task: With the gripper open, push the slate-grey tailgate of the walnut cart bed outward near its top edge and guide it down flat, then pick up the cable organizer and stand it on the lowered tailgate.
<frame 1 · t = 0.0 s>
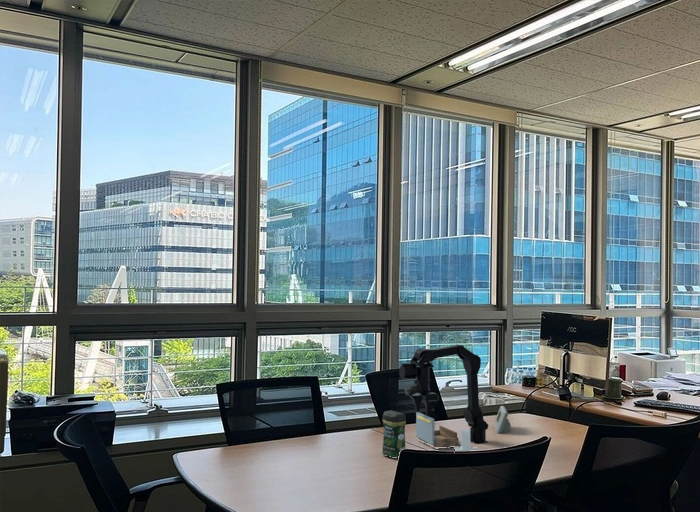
hand: (422, 413, 270), 15 cm above the table, tool pointing down, fingers open, 9 cm apart
cart bed: (438, 443, 275), on the table
coffee jar: (394, 456, 255), on the table
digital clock: (500, 430, 302), on the table
cable organizer: (466, 453, 261), on the table
tailgate: (424, 428, 273), point 8 cm above the table, hinge at 0.0°
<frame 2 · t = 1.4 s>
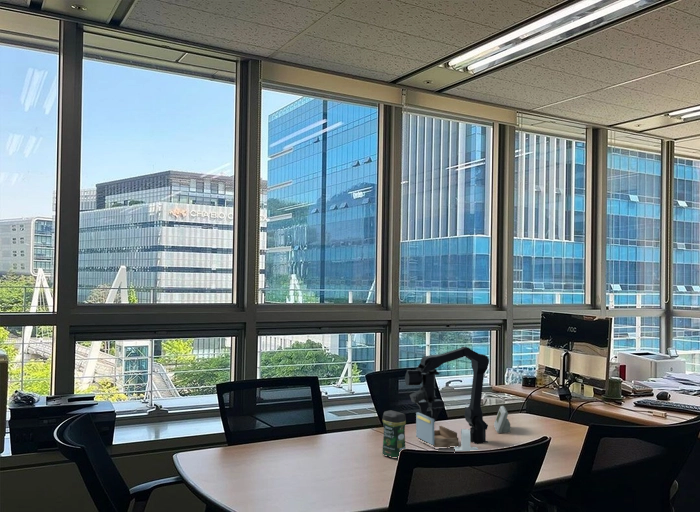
hand: (428, 420, 274), 11 cm above the table, tool pointing down
tailgate: (424, 428, 273), point 7 cm above the table, hinge at 0.1°, touching gripper
everything else where it was.
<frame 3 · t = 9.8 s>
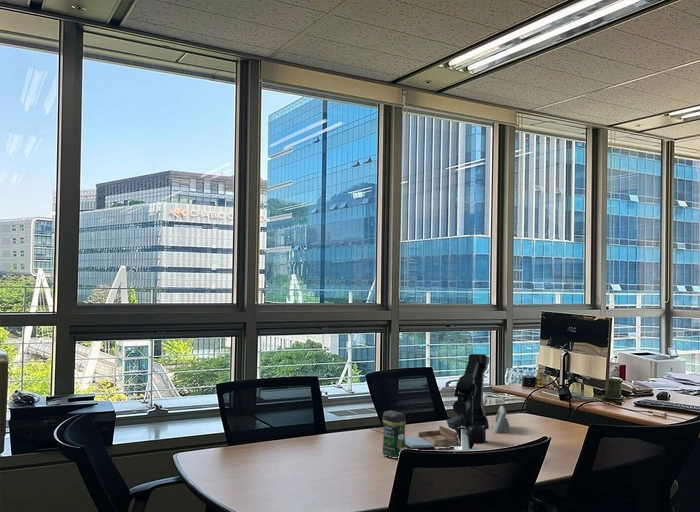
hand: (466, 446, 261), 3 cm above the table, tool pointing down, fingers closed on cable organizer, 6 cm apart
cable organizer: (466, 453, 261), on the table, touching gripper
tailgate: (415, 442, 271), point 2 cm above the table, hinge at 85.9°
everything else where it was.
when the fingers open (6 cm above the table, at t = 14.9 s): cable organizer stays where it is, resting on tailgate.
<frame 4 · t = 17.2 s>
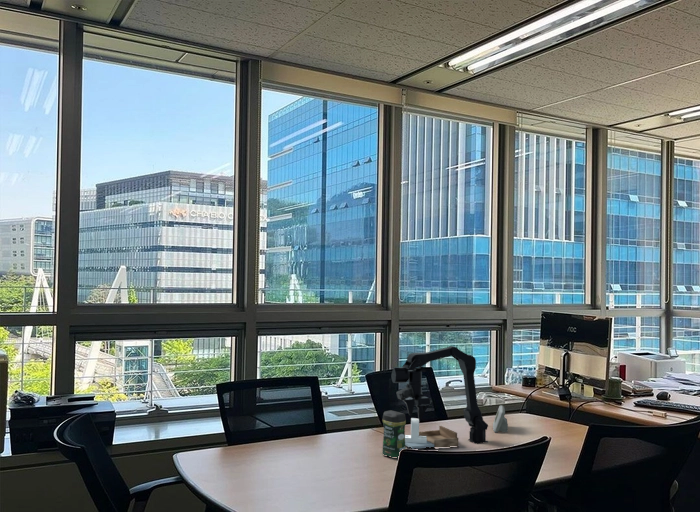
hand: (415, 417, 272), 12 cm above the table, tool pointing down, fingers open, 9 cm apart
cable organizer: (415, 441, 271), point 2 cm above the table, touching tailgate
tailgate: (415, 442, 271), point 1 cm above the table, hinge at 88.5°, touching cable organizer
at the end: tailgate at +88° (first picture: +0°); cable organizer tilted 1° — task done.
